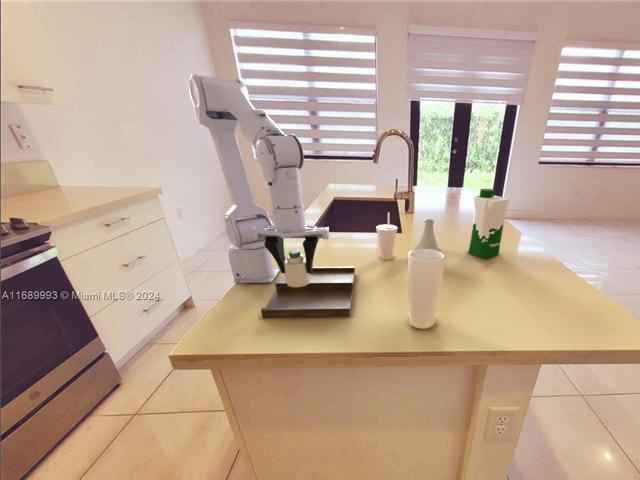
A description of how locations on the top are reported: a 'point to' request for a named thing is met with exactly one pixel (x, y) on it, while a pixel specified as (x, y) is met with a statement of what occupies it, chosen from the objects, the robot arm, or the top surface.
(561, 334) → the top surface
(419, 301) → the drinking glass
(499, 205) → the milk carton
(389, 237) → the smoothie
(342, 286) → the rack
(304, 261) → the bottle
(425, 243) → the flask
